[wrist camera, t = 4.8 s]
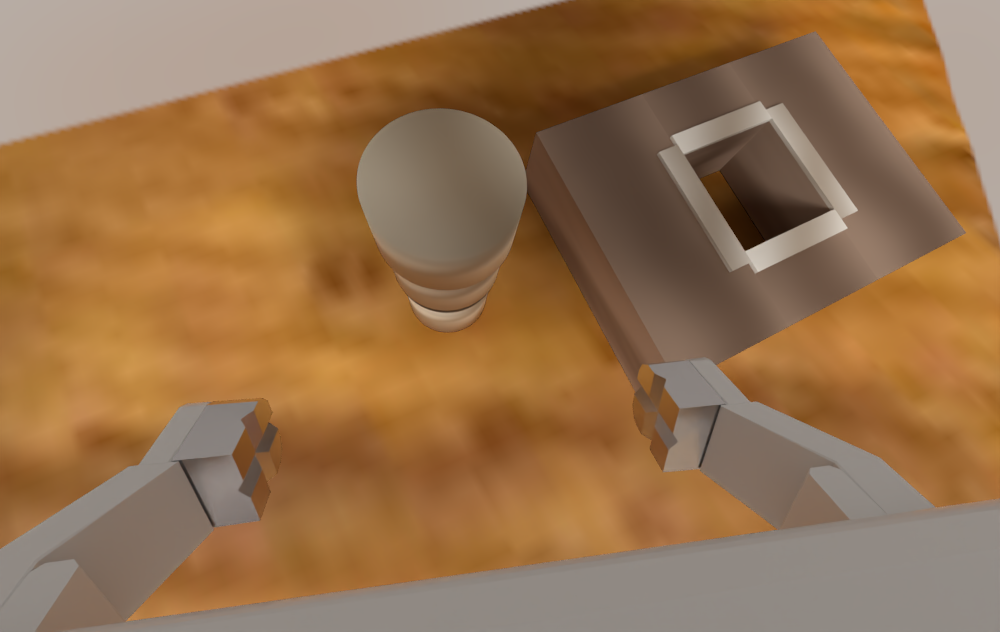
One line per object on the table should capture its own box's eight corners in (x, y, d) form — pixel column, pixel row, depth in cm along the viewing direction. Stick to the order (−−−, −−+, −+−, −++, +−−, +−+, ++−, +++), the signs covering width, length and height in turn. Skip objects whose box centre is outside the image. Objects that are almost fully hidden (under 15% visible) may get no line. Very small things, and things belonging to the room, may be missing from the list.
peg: (423, 356, 20) (397, 286, 11) (386, 273, 21) (331, 139, 12) (509, 317, 21) (555, 220, 12) (470, 239, 22) (483, 88, 13)
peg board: (636, 394, 21) (680, 384, 17) (522, 182, 23) (537, 129, 19) (884, 265, 24) (970, 231, 20) (763, 90, 26) (818, 27, 22)
